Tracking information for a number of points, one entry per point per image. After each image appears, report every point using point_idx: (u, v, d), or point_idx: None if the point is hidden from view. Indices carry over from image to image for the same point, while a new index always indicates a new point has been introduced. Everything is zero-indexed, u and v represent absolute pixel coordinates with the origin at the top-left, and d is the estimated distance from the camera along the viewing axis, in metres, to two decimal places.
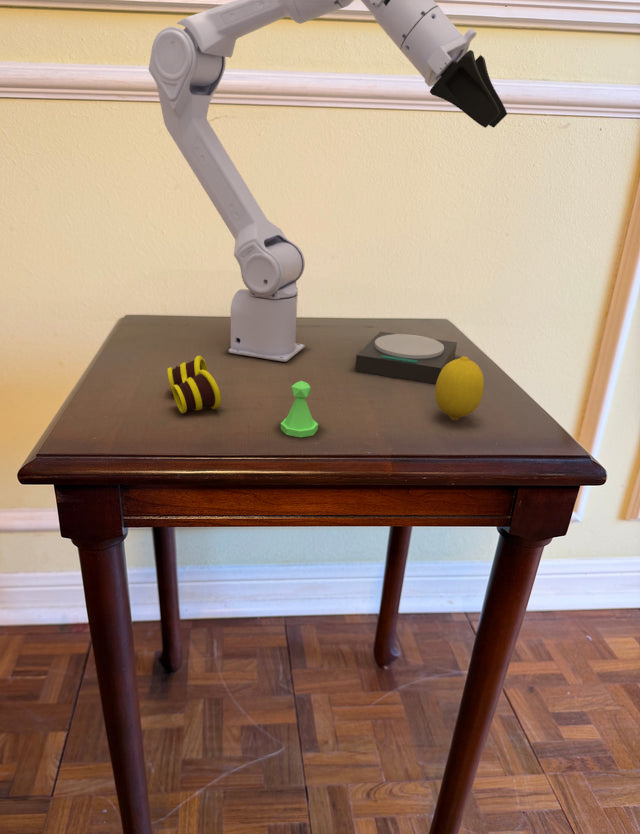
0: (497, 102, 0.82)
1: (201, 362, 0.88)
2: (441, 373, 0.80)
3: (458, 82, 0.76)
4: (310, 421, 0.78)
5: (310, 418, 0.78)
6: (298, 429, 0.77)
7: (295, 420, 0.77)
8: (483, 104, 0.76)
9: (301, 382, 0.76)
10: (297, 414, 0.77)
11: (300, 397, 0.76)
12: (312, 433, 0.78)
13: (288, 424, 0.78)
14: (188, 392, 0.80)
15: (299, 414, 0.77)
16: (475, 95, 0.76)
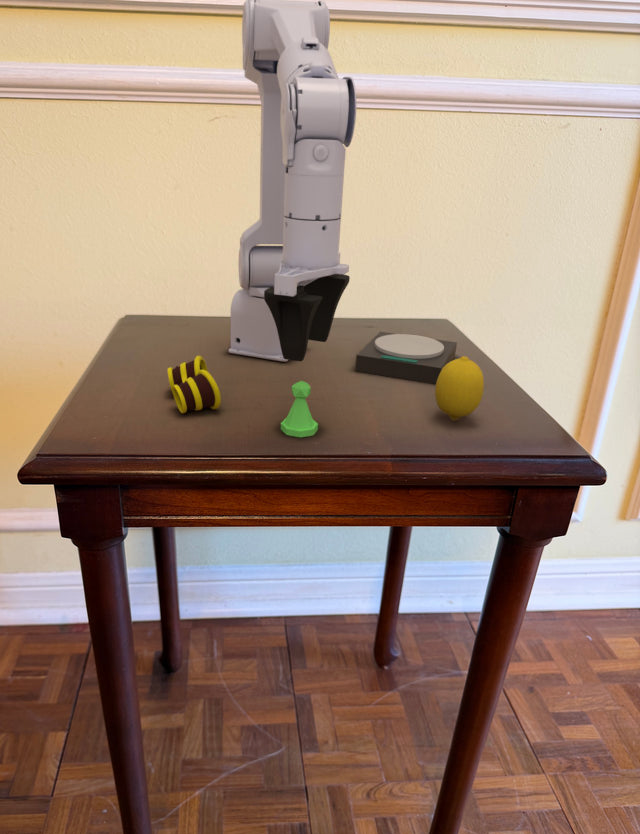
0: (326, 326, 0.76)
1: (201, 362, 0.88)
2: (441, 373, 0.80)
3: (292, 306, 0.68)
4: (310, 421, 0.78)
5: (310, 418, 0.78)
6: (298, 429, 0.77)
7: (295, 420, 0.77)
8: (295, 343, 0.70)
9: (301, 382, 0.76)
10: (297, 414, 0.77)
11: (300, 397, 0.76)
12: (312, 433, 0.78)
13: (288, 424, 0.78)
14: (188, 392, 0.80)
15: (299, 414, 0.77)
16: (295, 330, 0.69)
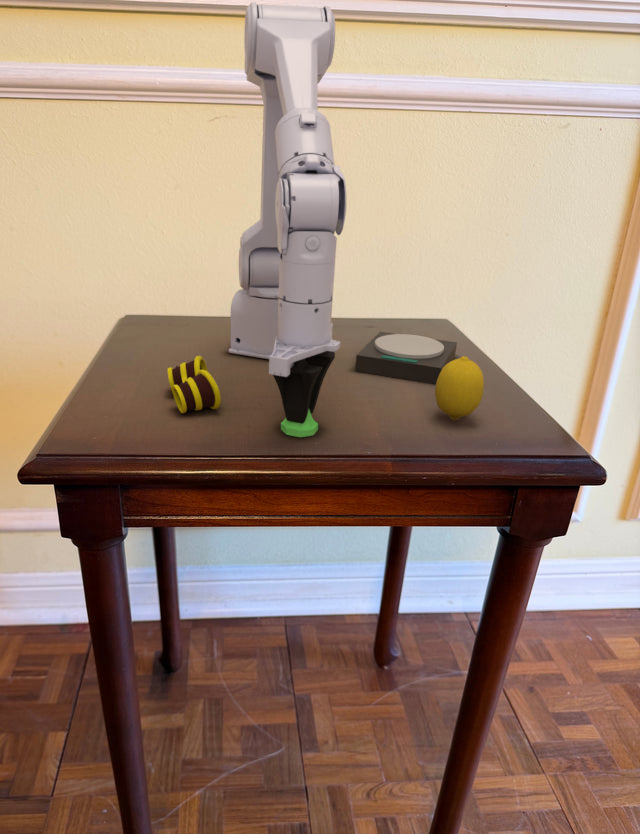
0: (312, 400, 0.78)
1: (201, 362, 0.88)
2: (441, 373, 0.80)
3: (295, 375, 0.74)
4: (310, 421, 0.78)
5: (310, 418, 0.78)
6: (298, 429, 0.77)
7: None
8: (297, 407, 0.76)
9: None
10: None
11: None
12: (312, 433, 0.78)
13: (288, 424, 0.78)
14: (188, 392, 0.80)
15: None
16: (298, 396, 0.75)
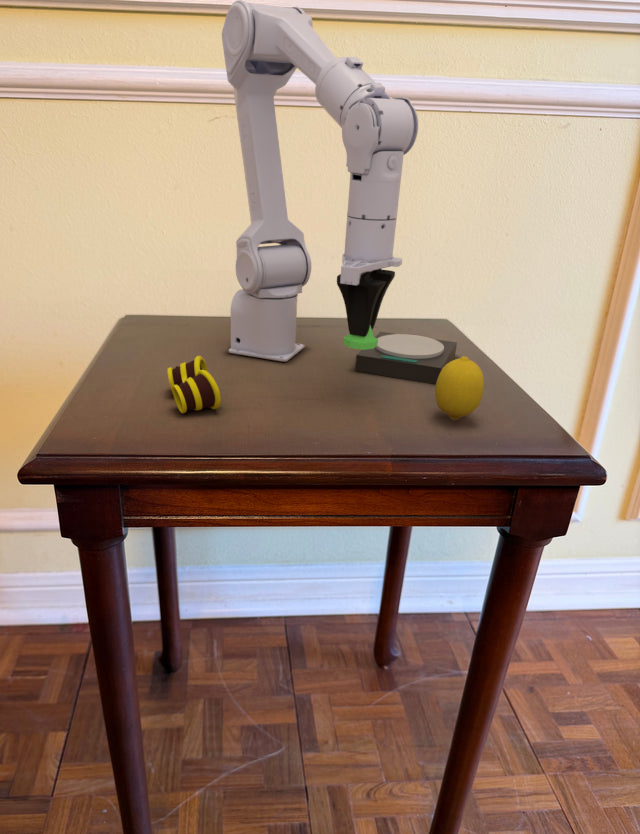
0: (372, 317, 0.85)
1: (201, 362, 0.88)
2: (441, 373, 0.80)
3: (360, 289, 0.81)
4: (371, 336, 0.85)
5: (371, 333, 0.85)
6: (361, 342, 0.84)
7: None
8: (361, 320, 0.83)
9: None
10: None
11: None
12: (373, 346, 0.85)
13: (351, 338, 0.85)
14: (188, 392, 0.80)
15: None
16: (361, 309, 0.82)
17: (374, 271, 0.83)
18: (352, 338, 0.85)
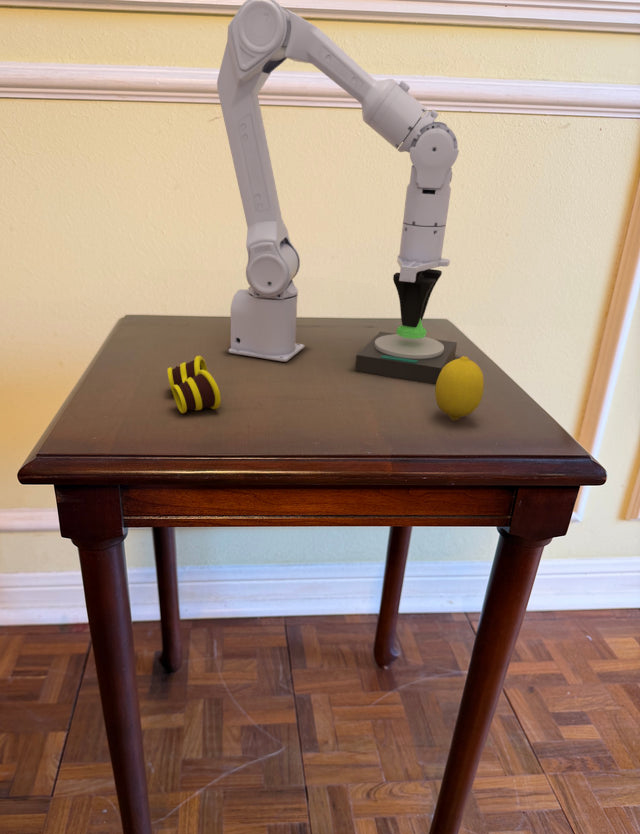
0: (421, 310, 0.98)
1: (201, 362, 0.88)
2: (441, 373, 0.80)
3: (413, 286, 0.94)
4: (421, 326, 0.98)
5: (421, 324, 0.98)
6: (412, 332, 0.97)
7: None
8: (413, 313, 0.96)
9: None
10: None
11: None
12: (423, 336, 0.97)
13: (404, 329, 0.98)
14: (188, 392, 0.80)
15: None
16: (414, 304, 0.95)
17: (424, 270, 0.96)
18: (405, 329, 0.97)
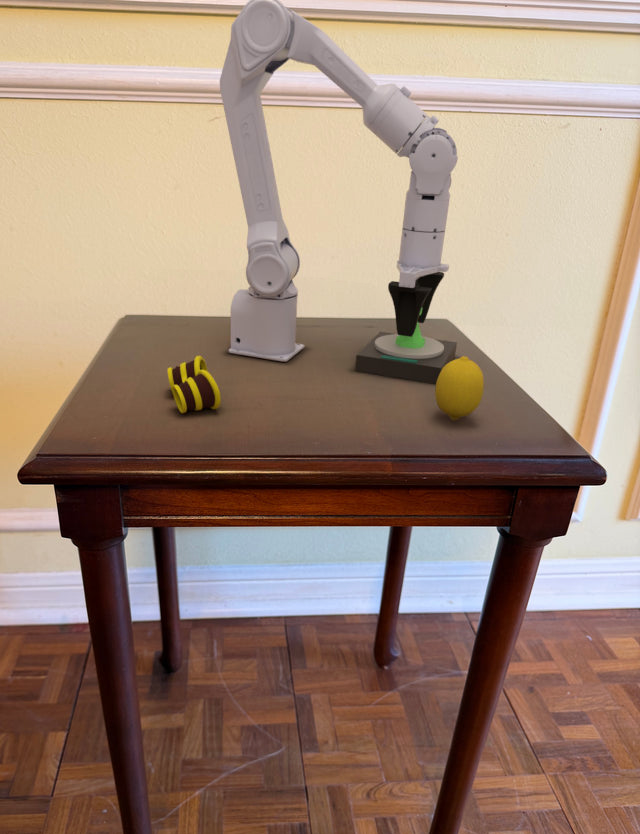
0: (424, 311, 1.00)
1: (201, 362, 0.88)
2: (441, 373, 0.80)
3: (408, 295, 0.92)
4: (420, 336, 0.98)
5: (420, 334, 0.98)
6: (411, 342, 0.98)
7: None
8: (408, 322, 0.94)
9: None
10: None
11: None
12: (422, 345, 0.98)
13: (403, 338, 0.98)
14: (188, 392, 0.80)
15: None
16: (409, 313, 0.93)
17: None
18: (403, 338, 0.98)
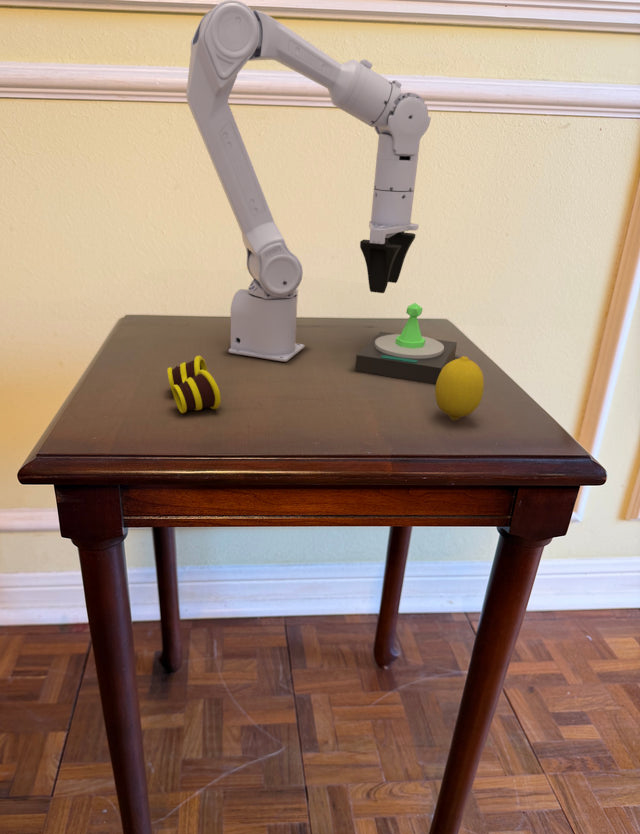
0: (397, 271, 1.05)
1: (201, 362, 0.88)
2: (441, 373, 0.80)
3: (379, 253, 0.97)
4: (420, 336, 0.98)
5: (420, 334, 0.98)
6: (411, 342, 0.98)
7: (409, 335, 0.98)
8: (380, 279, 0.99)
9: (415, 304, 0.97)
10: (410, 329, 0.98)
11: (413, 316, 0.97)
12: (422, 345, 0.98)
13: (403, 338, 0.98)
14: (188, 392, 0.80)
15: (412, 330, 0.97)
16: (380, 270, 0.98)
17: (399, 233, 1.03)
18: (403, 338, 0.98)
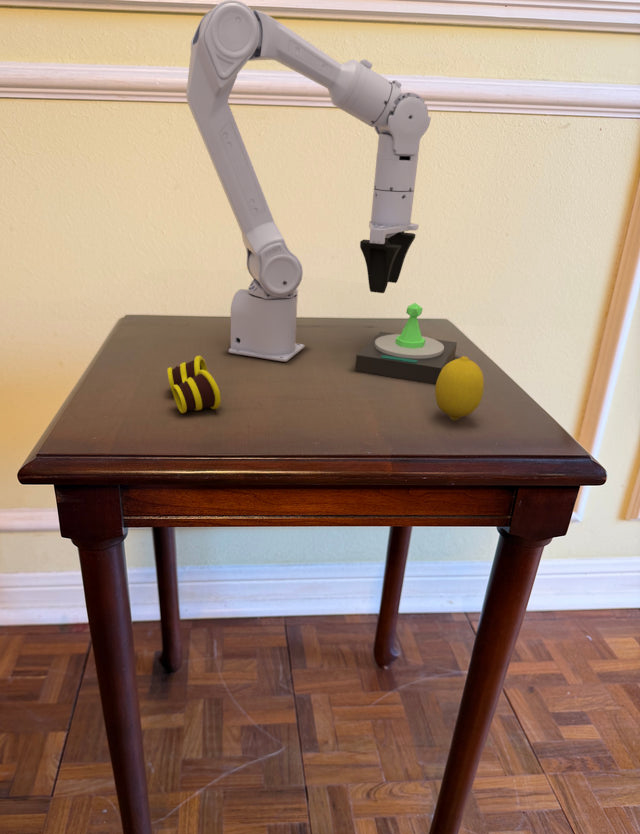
0: (397, 271, 1.05)
1: (201, 362, 0.88)
2: (441, 373, 0.80)
3: (379, 253, 0.97)
4: (420, 336, 0.98)
5: (420, 334, 0.98)
6: (411, 342, 0.98)
7: (409, 335, 0.98)
8: (380, 279, 0.99)
9: (415, 304, 0.97)
10: (410, 329, 0.98)
11: (413, 316, 0.97)
12: (422, 345, 0.98)
13: (403, 338, 0.98)
14: (188, 392, 0.80)
15: (412, 330, 0.97)
16: (380, 270, 0.98)
17: (399, 233, 1.03)
18: (403, 338, 0.98)
